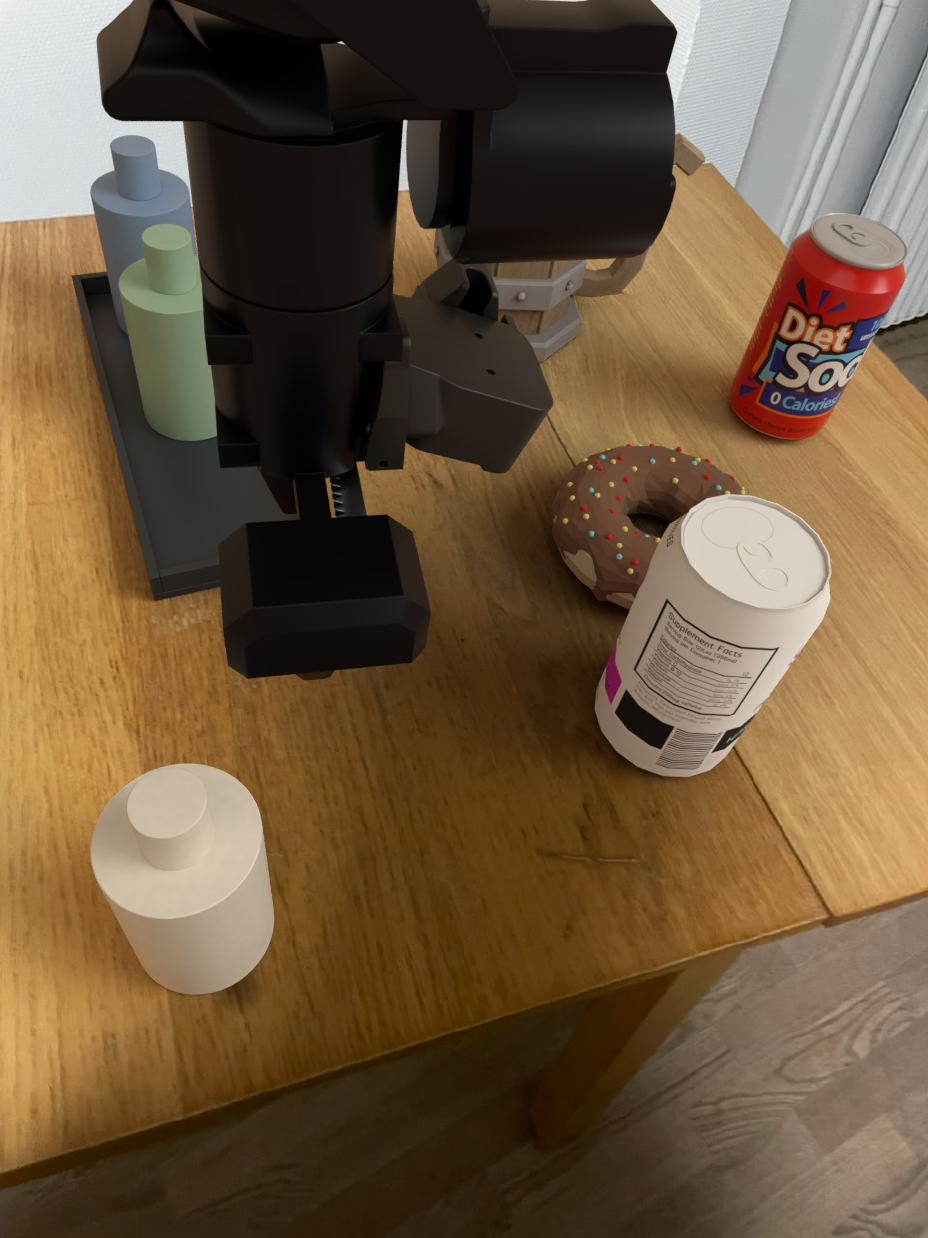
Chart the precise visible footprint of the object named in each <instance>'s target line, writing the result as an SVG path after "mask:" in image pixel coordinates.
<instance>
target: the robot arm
mask: <svg viewBox="0 0 928 1238" xmlns="http://www.w3.org/2000/svg"><path fill="white" fill-rule="evenodd" d="M677 36H678V30H677V27H676V25H675V24H674V23H673V22H672V21H671V20H670V19H669V18H668V16H667V15H666V14H664V12H663V11H662V10H661V9H660V8H659V7H658V6H657V5H656V4H655V3H654V2H653V0H574V1H573V0H572V1H571V0H132V1H131V2H130V4H129V5H127V6H126V7H125V8H124V9H123V10H122V11H121V12H120V13H118V14H117V16H116V17H114V19H113V20H112V21H110V23H108V24H107V25H106V26H105V27H103V28H102V29H101V30H100V31H99V32H98V34H97V35H96V52H97V53H96V54H97V65H98V75H99V77H98V78H99V86H100V87H99V88H100V99H101V106H102V108H103V110H104V112H105V113H106V114H107V116H109V117H110V118H112V119H114V120H115V121H119V122H182V127H183V136H184V143H185V144H184V145H185V153H186V161H187V170H188V178H189V188H190V198H191V207H192V215H193V224H194V233H195V241H196V249H197V257H198V258H199V267H200V275H201V284H202V298H203V316H204V334H205V343H206V352H207V360H208V365H211V371H212V380H213V388H214V397H215V413H216V429H217V445H218V454H219V462H220V468H239V467H258V469H259V471H260V473H261V475H262V477H263V479H264V481H265V482H266V484H267V486H268V488H269V490H270V492H271V493H272V495H273V497H274V499H275V500H276V502H277V504H278V505H279V507H280V509H281V510H282V512H283V513H284V514H297V518H298V520H284V521H267V522H251V523H245V524H244V525H242V526H241V527H240V528H239V529H237V530H236V531H235V532H234V533H232V534H231V535H230V536H228V537H227V538H226V539H225V540H223V541H222V542H221V543H219V544H218V555H219V572H220V587H219V588H220V604H221V621H222V622H221V623H222V633H223V634H222V635H223V641H224V647H225V655H226V662H227V667H229V668H230V669H232V670H233V671H235V672H237V673H238V674H240V675H241V676H243V677H244V678H245V679H247V680H251V679H260V678H261V679H262V678H273V677H281V676H292V675H295V676H297V678H299V679H300V680H301V681H305V682H307V681H318V680H319V681H320V680H326V679H329V678H331V676H332V675H333V674H334V672H336V671H344V670H353V669H363V668H374V667H384V666H393V665H394V666H396V665H406V664H412V663H413V662H414V661H415V660H416V659H417V658H418V656H420V655H421V653H422V652H423V651H424V650H425V649H426V648H427V643H428V635H429V630H430V623H431V616H432V610H431V606H430V601H429V596H428V591H427V588H426V582H425V579H424V574H423V570H422V565H421V560H420V556H419V553H418V552H419V551H418V548H417V544H416V539H415V535H414V534H415V533H414V531H412V530H411V529H410V528H409V527H406V526H405V525H403V524H402V523H401V522H400V521H398V520H397V519H395V518H394V517H392V516H390V515H389V514H387V513H386V514H385V513H383V514H370V515H369V514H367V508H366V505H365V499H364V494H363V488H362V483H361V477H360V473H359V467H358V463H359V462H360V463H363V462H364V466H365V469H366V470H367V471H369V472H376V471H377V472H379V471H398V470H404V463H405V455H406V445H409V446H410V447H412V448H413V449H415V450H418V451H420V452H422V453H423V452H424V453H426V454H429V455H430V454H431V455H435V456H440V457H443V458H448V459H452V460H455V461H460V462H463V463H468V464H472V465H477V466H479V467H480V468H481V470H482V471H483V472H486V473H490V474H506V473H508V472H509V471H510V469H511V468H512V467H513V465H514V464H515V462H516V461H517V460H518V458H519V456H520V455H521V453H522V452H523V451H524V449H525V448H526V446H527V445H528V443H529V442H530V440H531V439H532V438H533V436H534V434H535V433H536V432H537V430H538V429H539V427H540V425H541V424H542V422H543V421H544V420H545V418H546V416H548V413H549V412H550V411H551V409H552V408H553V406H554V399H553V396H552V392H551V391H550V387H549V385H548V382H547V379H546V378H545V375H544V373H543V370H542V367H541V365H540V362H538V360H537V357H536V355H535V352H534V350H533V347H532V345H531V343H530V342H529V340H528V339H527V338H526V337H525V336H524V335H523V334H522V333H520V332H519V331H518V329H517V326H516V324H515V321H514V319H513V317H512V316H509V315H506V314H504V316H503V317H502V319H501V321H500V322H499V321H498V307H499V295H498V291H497V289H496V286H495V283H494V281H493V278H492V275H491V273H490V270H489V268H488V267H487V266H486V265H484V264H491V263H516V262H541V261H566V260H586V261H590V260H612V259H613V260H615V259H617V258H633V257H636V256H639V255H641V254H643V253H644V252H645V251H646V250H647V249H648V248H649V249H650V247H652V246H653V244H654V243H655V241H656V240H657V238H658V237H659V235H660V233H661V232H662V230H663V228H664V226H665V223H666V221H667V218H668V216H669V214H670V211H671V208H672V205H673V202H674V197H675V194H676V190H677V179H676V176H675V174H673V169H674V166H673V163H674V154H675V135H676V117H675V116H676V115H675V104H674V103H675V102H674V98H673V93H672V88H671V83H670V79H669V75H668V69H669V66H670V62H671V59H672V55H673V51H674V49H675V48H674V47H675V44H676V40H677ZM404 121H406V131H405V133H406V134H405V135H406V136H405V158H406V159H405V161H406V176H407V177H406V179H407V186H408V193H409V199H410V204H411V208H412V211H413V215H414V217H415V221H416V222H417V224H418V225H419V227H420V228H422V229H423V230H436V229H441V230H442V233H443V237H444V240H445V243H446V246H447V248H448V251H449V253H450V255H451V256H452V257H453V258H452V259H451V260H449V261H448V262H447V263H446V264H444V265H443V266H442V267H441V268H439V269H438V268H437V269H438V270H437V269H436V270H437V271H435V270H434V271H435V272H434V271H433V272H434V273H433V274H432V275H430V276H429V277H428V278H427V279H425V280H424V281H423V282H422V281H421V282H420V284H417V285H416V287H415V289H414V291H413V293H412V295H411V296H407V295H406V296H405V295H402V294H397V293H394V286H395V285H394V284H395V275H394V261H395V246H396V234H397V221H398V220H397V219H398V205H399V204H398V203H399V190H400V176H401V175H400V174H401V160H402V147H403V135H404V134H403V132H404ZM327 479H329V483H330V491H331V498H332V500H333V508H334V516H335V517H333V516H332V512H331V506H330V501H329V500H330V499H329V498H330V497H329V493H328V485H327Z"/></svg>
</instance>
